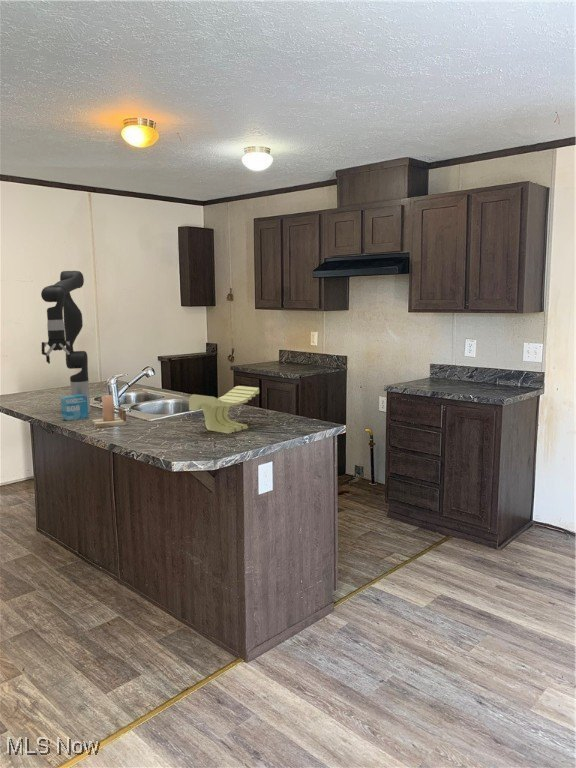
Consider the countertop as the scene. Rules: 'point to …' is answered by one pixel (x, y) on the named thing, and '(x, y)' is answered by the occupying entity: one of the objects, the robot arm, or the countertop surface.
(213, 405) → the slatted curved stool
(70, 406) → the data package
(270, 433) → the countertop surface
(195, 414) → the countertop surface
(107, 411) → the peach dome-topped cylinder
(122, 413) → the wooden l-shaped stand
